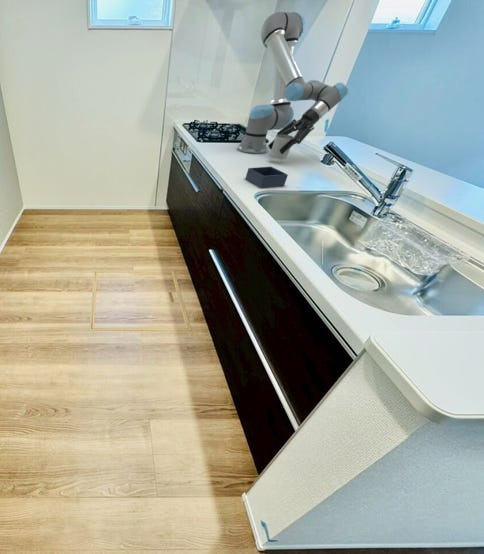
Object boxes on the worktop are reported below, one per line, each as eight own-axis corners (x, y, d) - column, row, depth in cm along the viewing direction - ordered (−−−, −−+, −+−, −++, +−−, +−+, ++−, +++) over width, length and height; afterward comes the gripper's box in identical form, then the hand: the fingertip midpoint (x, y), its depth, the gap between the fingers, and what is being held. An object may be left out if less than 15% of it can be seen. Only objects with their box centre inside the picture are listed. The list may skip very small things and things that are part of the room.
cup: (288, 159, 153) (295, 138, 147) (271, 158, 154) (278, 137, 148) (284, 155, 159) (291, 134, 153) (268, 154, 161) (274, 134, 155)
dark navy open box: (245, 179, 137) (248, 168, 134) (267, 177, 139) (271, 166, 136) (260, 188, 128) (263, 176, 125) (284, 185, 130) (288, 174, 127)
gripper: (333, 124, 141) (291, 160, 148) (301, 116, 157) (265, 149, 164) (328, 111, 137) (285, 150, 144) (297, 104, 153) (259, 139, 160)
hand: (275, 149), depth 154 cm, fingers closed on cup, 8 cm apart
